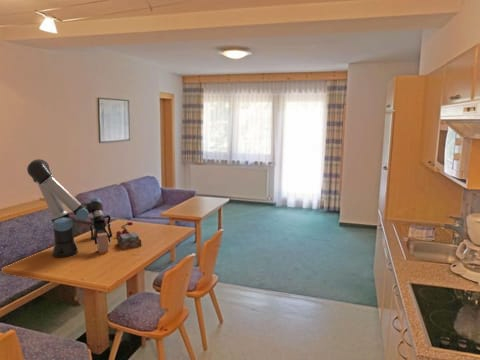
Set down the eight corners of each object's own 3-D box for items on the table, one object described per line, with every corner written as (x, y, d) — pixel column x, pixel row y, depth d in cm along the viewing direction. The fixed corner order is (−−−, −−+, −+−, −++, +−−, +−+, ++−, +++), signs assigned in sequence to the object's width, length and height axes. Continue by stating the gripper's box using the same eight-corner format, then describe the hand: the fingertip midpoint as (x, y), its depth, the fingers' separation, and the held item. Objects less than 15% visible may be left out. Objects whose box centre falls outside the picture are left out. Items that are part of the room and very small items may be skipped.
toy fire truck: (115, 237, 279) (115, 225, 278) (130, 233, 290) (130, 221, 288) (118, 238, 277) (117, 225, 276) (133, 233, 288) (132, 221, 286)
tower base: (121, 249, 252) (120, 239, 251) (117, 243, 264) (117, 234, 263) (141, 245, 258) (141, 236, 257) (137, 240, 270) (136, 231, 269)
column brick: (99, 253, 244) (97, 236, 242) (97, 250, 250) (96, 233, 248) (108, 251, 247) (107, 234, 245) (107, 249, 252) (105, 232, 251)
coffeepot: (90, 238, 277) (89, 215, 274) (90, 235, 285) (89, 212, 283) (112, 235, 282) (110, 213, 280) (111, 232, 291) (109, 210, 288)
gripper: (112, 219, 263) (117, 247, 252) (84, 222, 255) (88, 252, 243) (113, 213, 258) (118, 242, 246) (84, 217, 249) (88, 246, 237)
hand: (103, 247), depth 245 cm, fingers closed on column brick, 6 cm apart
